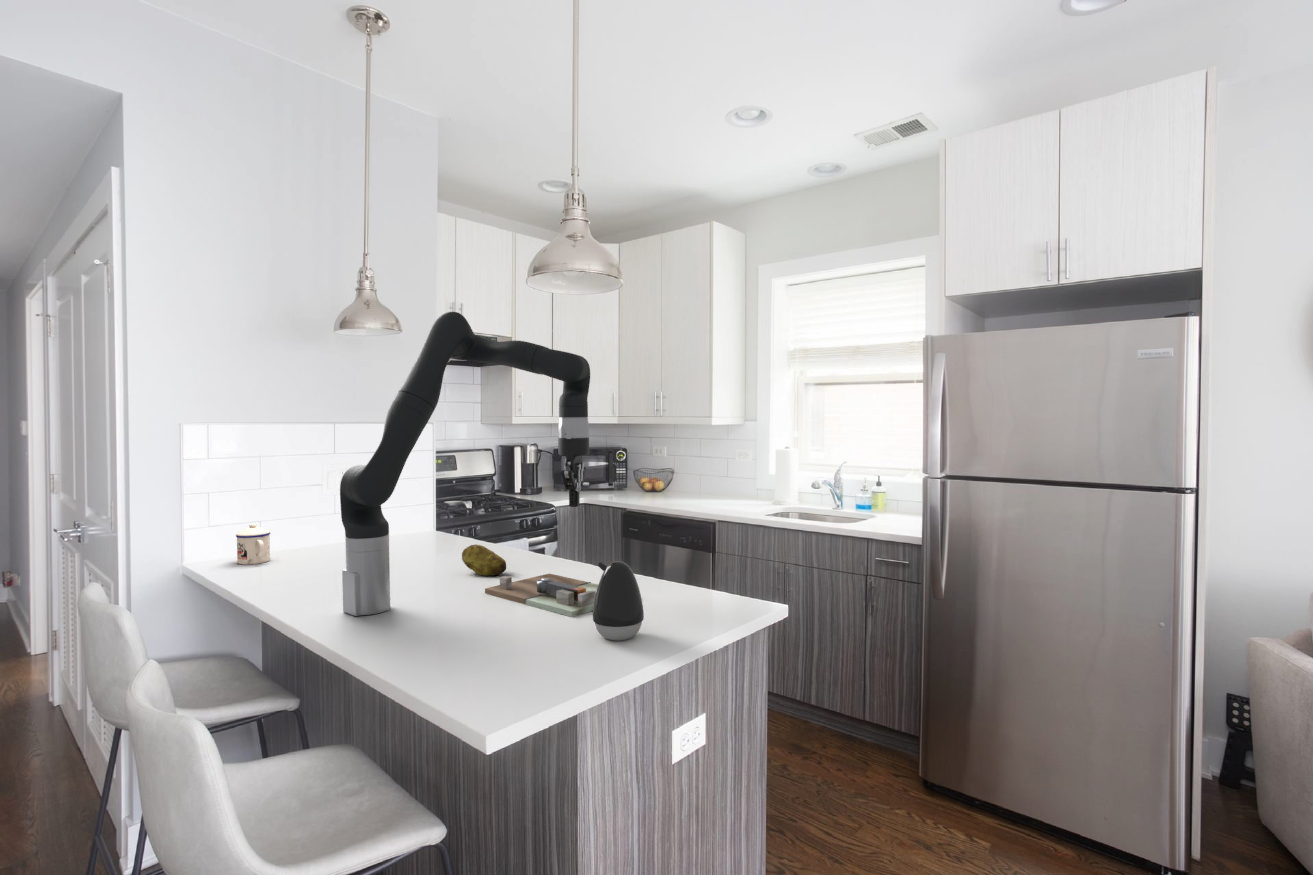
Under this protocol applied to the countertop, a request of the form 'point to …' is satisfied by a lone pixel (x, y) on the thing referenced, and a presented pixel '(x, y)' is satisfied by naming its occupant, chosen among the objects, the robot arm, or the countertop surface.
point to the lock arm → (557, 587)
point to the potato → (483, 560)
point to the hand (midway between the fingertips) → (574, 506)
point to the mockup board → (560, 603)
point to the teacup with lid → (253, 545)
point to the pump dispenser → (617, 602)
